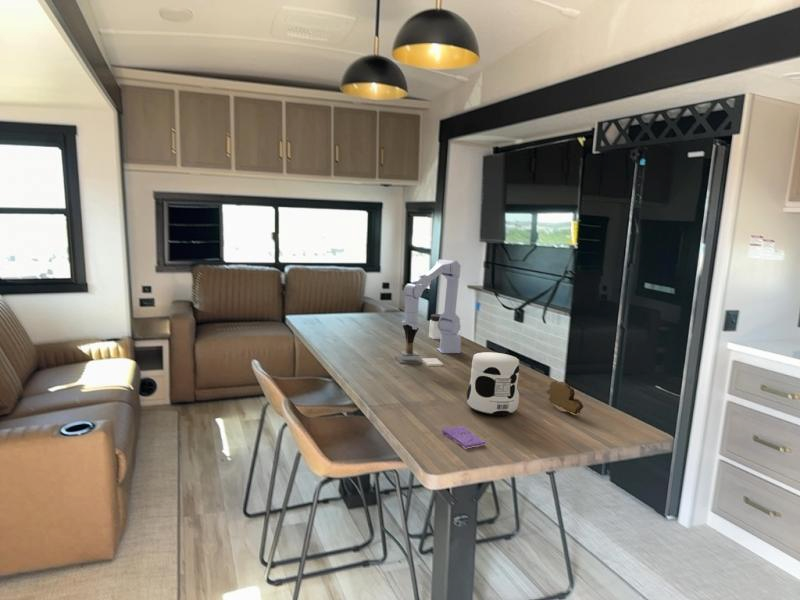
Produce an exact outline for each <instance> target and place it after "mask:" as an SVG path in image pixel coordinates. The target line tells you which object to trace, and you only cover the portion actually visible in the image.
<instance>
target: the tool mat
mask: <svg viewBox="0 0 800 600" xmlns="http://www.w3.org/2000/svg"><path fill="white" fill-rule="evenodd" d="M394 359H396V361H397V362H398V363H399V364H400V365H401V364H404V365H405V364H406V365H409V364H414V365H415V364H424V362H423V361H422V360H421V359H420V358H419V356H403V355H395V356H394Z"/></svg>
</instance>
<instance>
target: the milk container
mask: <svg viewBox="0 0 800 600" xmlns="http://www.w3.org/2000/svg"><path fill="white" fill-rule="evenodd" d="M471 361H472V362H471V372H470V381H469V385H468V388H467V390H466V401H467V404H468V407H469V408H470V409H472V410H474V411H475V412H476V413H477V412H478V413H481V414H483V415H484V414H485V415H489V416H508V415H510V414H513V413H515V412H516V410H517V409H518V406H519V403H520V392H519V388H518V387H519V386H518V383H519V375H520V373H519V371H520V359H518V358H517V357H516V356H513V355H510V354H505V353H500V352H492V351H491V352H488V351H487V352H485V351H483V352H477V353H475V354H473V357H472V360H471Z"/></svg>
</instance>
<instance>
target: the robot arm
mask: <svg viewBox="0 0 800 600" xmlns="http://www.w3.org/2000/svg"><path fill="white" fill-rule="evenodd" d="M440 275H442V276H444V277H445V279H446V287H445V288H446V290H445V301H444V309H443V313H441V315H440V318H439V321H438V329H439V330H440V332H441V337H440V339H439V347H436V350H437V351H439V352H440V353H441V354H461V353H462V352H461V345H462V336H461V334H460V333H459V332H460V330H461V322H460V321H461V318H460V317H459V316H458V315H457V313H456V312H457V303H458V302H457V301H458V292H459V290H458V289H459V281H460V279H459V278H460V275H461V264H460V263H459V261H458V260H451V259H450V260H449V259H443V258H439V259H438V260H437V261H435V264H434V266H433V267H432V268H431V269H429V271H428V272H427V273H426V274H424V273H423V274H420V275H419V276H418V277H417V278H416V279H415V280H413V281H412V282H411V283H406V285H405V286H404V287H403V290H402V293H403V295H404V301H405V304H404V317H403V318H404V319H403V320H402V321H401V323H402V328H403V330H404V335H405V341H406V340H408V343H413V344H414V340H415V337H416V335H417V332H418V331H419V329H420V328H419V327H418V324H419V322H418V321H419V320H418V318H419V316H418V315H419V305H420V304H419V301H420V298H421V297H422V295H423V292H424V291H425V290H426V289H427V288H428V287H429V286H430V285H431V284H432V281H433V280H434V279H435V278H437V277H438V276H440Z"/></svg>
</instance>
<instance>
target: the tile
mask: <svg viewBox="0 0 800 600" xmlns="http://www.w3.org/2000/svg"><path fill="white" fill-rule="evenodd" d="M420 360H421V361H422V362H423V364H424V365H426V367H444V363H443V362H442V361H441V360H439V359H438V357H437V358H435V357H431V358H429V357H427V358H425V357H424V358H421V359H420Z"/></svg>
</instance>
